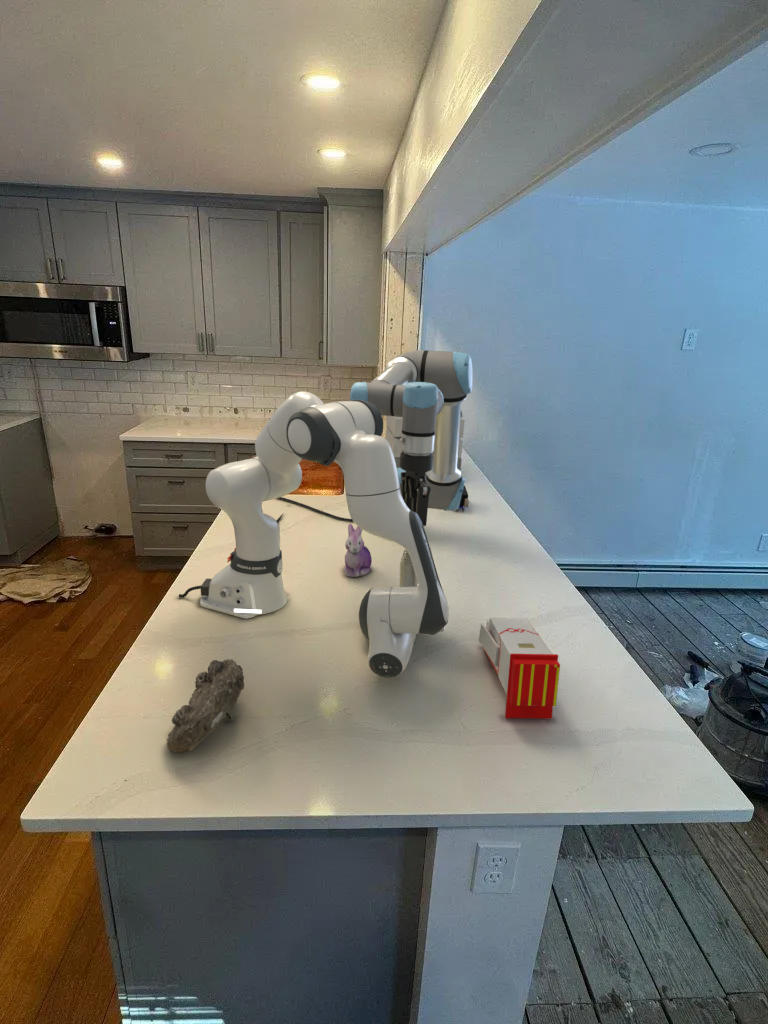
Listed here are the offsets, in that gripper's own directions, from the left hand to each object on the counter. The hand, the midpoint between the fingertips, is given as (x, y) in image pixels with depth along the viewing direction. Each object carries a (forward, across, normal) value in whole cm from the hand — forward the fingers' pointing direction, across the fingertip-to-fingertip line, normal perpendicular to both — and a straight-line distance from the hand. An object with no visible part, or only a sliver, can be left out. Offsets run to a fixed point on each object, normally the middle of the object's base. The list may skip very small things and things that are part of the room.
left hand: (407, 598), depth 143 cm
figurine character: (+93, -7, +6) cm, 94 cm away
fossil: (-45, +30, +6) cm, 55 cm away
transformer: (+138, +15, +6) cm, 139 cm away
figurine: (+24, +19, +6) cm, 31 cm away
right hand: (-1, 0, -15) cm, 15 cm away
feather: (+60, +56, +6) cm, 83 cm away
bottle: (-1, 0, +6) cm, 6 cm away
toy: (-18, -26, +6) cm, 32 cm away
